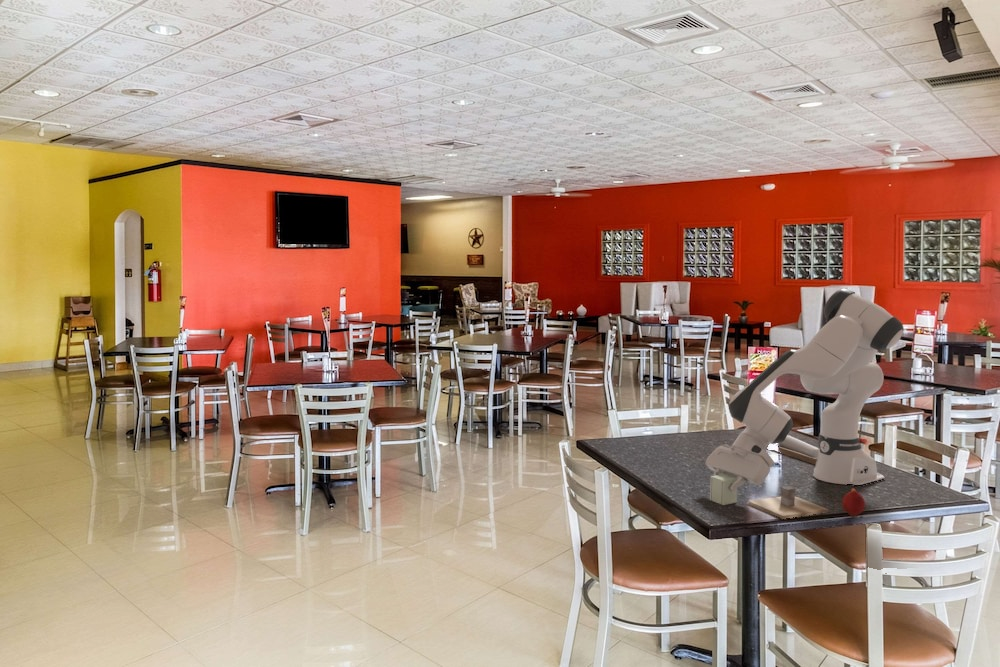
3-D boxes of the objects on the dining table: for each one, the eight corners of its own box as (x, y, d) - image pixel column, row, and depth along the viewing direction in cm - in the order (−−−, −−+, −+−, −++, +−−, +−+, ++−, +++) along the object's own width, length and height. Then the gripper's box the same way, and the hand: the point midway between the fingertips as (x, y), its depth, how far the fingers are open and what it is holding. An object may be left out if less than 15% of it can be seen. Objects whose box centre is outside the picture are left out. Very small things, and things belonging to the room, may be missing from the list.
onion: (857, 513, 209) (859, 485, 208) (868, 520, 204) (870, 491, 203) (837, 513, 209) (838, 485, 208) (847, 520, 203) (849, 491, 203)
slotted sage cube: (723, 497, 223) (723, 473, 222) (736, 502, 218) (737, 478, 218) (709, 499, 220) (710, 476, 220) (723, 505, 216) (724, 480, 215)
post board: (791, 498, 222) (792, 478, 222) (827, 512, 209) (828, 491, 209) (748, 504, 217) (749, 484, 216) (782, 519, 204) (783, 498, 203)
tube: (827, 450, 263) (787, 432, 288) (814, 447, 262) (775, 429, 287) (823, 464, 264) (783, 445, 288) (810, 461, 263) (771, 443, 287)
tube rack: (782, 443, 290) (782, 438, 290) (838, 461, 264) (839, 456, 264) (759, 446, 286) (760, 441, 286) (815, 464, 260) (815, 458, 260)
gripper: (716, 436, 230) (691, 471, 227) (768, 451, 212) (742, 489, 209) (726, 449, 233) (702, 484, 229) (779, 464, 215) (753, 502, 211)
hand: (722, 486), depth 219 cm, fingers closed on slotted sage cube, 5 cm apart
